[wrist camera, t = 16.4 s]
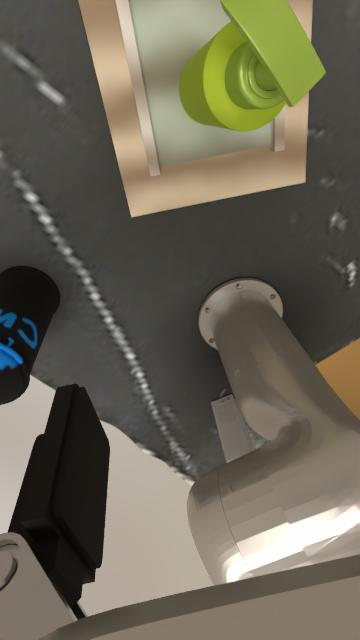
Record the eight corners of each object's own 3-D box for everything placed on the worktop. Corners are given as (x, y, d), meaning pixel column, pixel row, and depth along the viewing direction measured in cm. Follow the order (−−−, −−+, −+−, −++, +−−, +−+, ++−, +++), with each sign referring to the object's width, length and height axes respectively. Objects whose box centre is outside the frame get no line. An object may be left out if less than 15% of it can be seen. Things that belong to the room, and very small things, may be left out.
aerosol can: (49, 328, 47) (3, 450, 30) (-13, 308, 44) (-102, 428, 27) (68, 281, 44) (28, 388, 27) (2, 255, 41) (-89, 356, 24)
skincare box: (209, 401, 59) (225, 461, 49) (232, 392, 58) (252, 451, 48) (221, 421, 62) (238, 481, 52) (242, 413, 62) (263, 472, 51)
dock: (294, 177, 40) (311, 184, 36) (131, 210, 40) (131, 221, 36) (300, -64, 29) (325, -90, 25) (75, -21, 29) (67, -40, 25)
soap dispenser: (203, 20, 29) (300, -107, 12) (252, 88, 32) (382, 64, 15) (157, 79, 31) (185, 40, 14) (207, 138, 34) (280, 165, 17)
